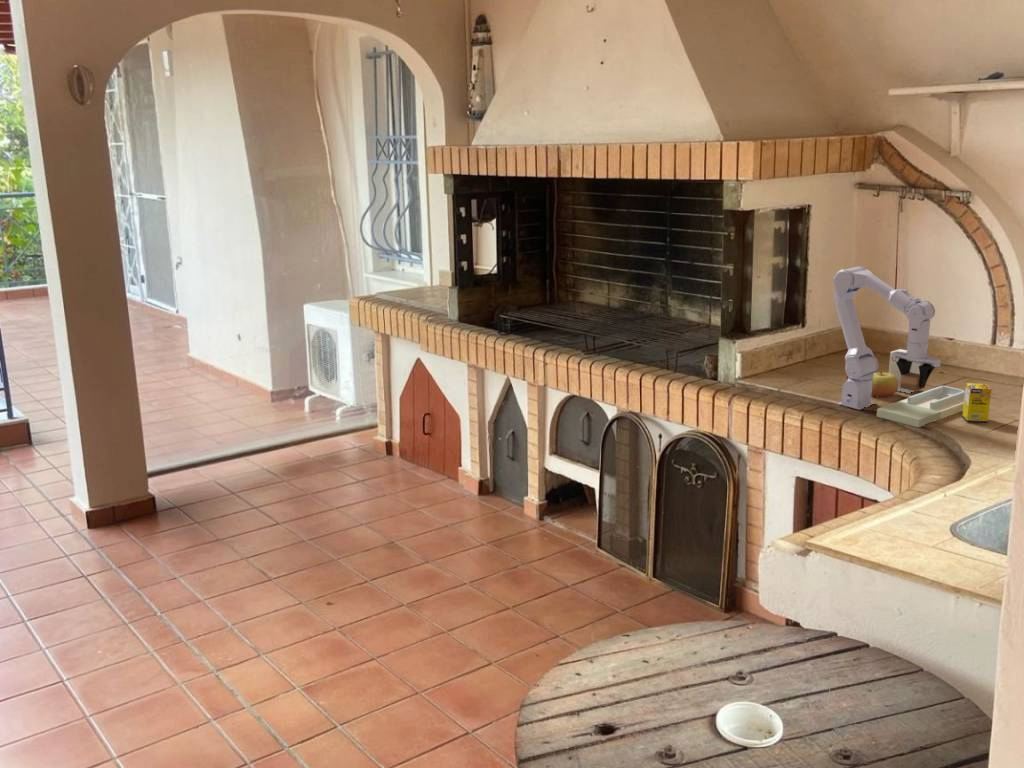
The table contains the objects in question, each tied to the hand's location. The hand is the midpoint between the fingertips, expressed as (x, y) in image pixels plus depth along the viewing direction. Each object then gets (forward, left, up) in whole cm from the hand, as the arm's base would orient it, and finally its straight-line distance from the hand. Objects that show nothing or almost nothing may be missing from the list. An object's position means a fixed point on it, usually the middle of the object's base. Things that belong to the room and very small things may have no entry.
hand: (913, 385), depth 295 cm
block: (-1, 0, -1) cm, 1 cm away
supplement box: (+12, -14, -10) cm, 21 cm away
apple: (+14, +19, -10) cm, 26 cm away
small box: (+25, +18, -10) cm, 32 cm away
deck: (+9, 0, -10) cm, 13 cm away
